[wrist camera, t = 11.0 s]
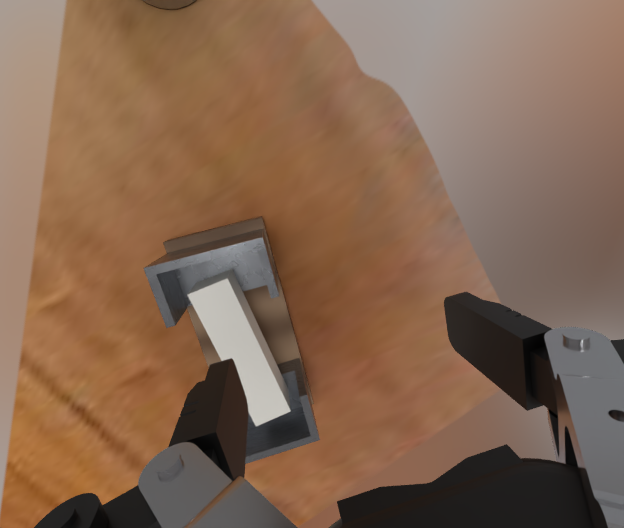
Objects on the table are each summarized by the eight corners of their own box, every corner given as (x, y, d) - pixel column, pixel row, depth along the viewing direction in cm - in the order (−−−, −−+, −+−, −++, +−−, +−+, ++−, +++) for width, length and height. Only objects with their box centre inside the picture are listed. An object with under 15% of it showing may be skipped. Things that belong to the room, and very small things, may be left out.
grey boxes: (168, 252, 35) (143, 268, 27) (262, 228, 36) (262, 237, 28) (229, 421, 40) (222, 471, 33) (309, 396, 41) (319, 439, 34)
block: (196, 282, 33) (187, 294, 29) (231, 268, 34) (227, 278, 30) (256, 402, 37) (255, 426, 34) (288, 388, 38) (290, 411, 34)
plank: (168, 239, 36) (163, 242, 34) (261, 216, 37) (261, 217, 35) (232, 418, 42) (231, 429, 40) (311, 394, 43) (313, 403, 41)
